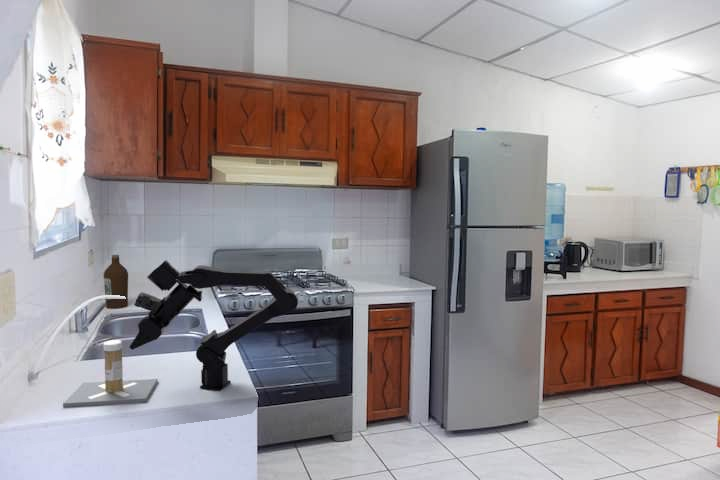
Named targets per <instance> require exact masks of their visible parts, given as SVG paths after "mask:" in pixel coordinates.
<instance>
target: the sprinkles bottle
mask: <svg viewBox="0 0 720 480" xmlns="http://www.w3.org/2000/svg"><path fill="white" fill-rule="evenodd" d="M122 350H123V342H122V340H119V339H113V340H108V341H105V342H103V351H104V380H105V381H104V382H105V391H106V392H117V391H120V390H122V389H123V381H124V380H123V377H124V376H123V374H124V373H123V371H124V370H123V355H122V354H123V353H122V352H123V351H122Z"/></svg>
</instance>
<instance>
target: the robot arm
mask: <svg viewBox="0 0 720 480" xmlns="http://www.w3.org/2000/svg"><path fill="white" fill-rule="evenodd" d="M146 278H147V279H148V281H150V282H151V283H152V284H153V285H155V286H156V287H157V288H158V289H159V290H160V291H162V292H163V291H167V292H169V291H170V290H171V289H172V288H173V287H174V286H175V285H176V284H177V285H176V286H175V287H174V288H173V289H172V290H171V291H170V292H169V293H168V294H167V296H164V297H163V298H162V299H160V298H158V297H156V296H154V295H151V294H148V293H146V292H140V293H138V295H137V297H136V298H135V302H134V304H133V306H135V307H136V308H141V309H144V310H147V311H149V312H148V315H146V316H145V317H143V318H142V319H141V320H140V322H138V324H137V327H138V333H137V334H136V336H135V337H134V338H133V340H132V342H131V344H130V345H129V349H131V350H132V351H133V350H136V349H137V348H139V347H142V346H144V345H146V344H149V343H150V342H153V341H156V340H158V339H159V338H160V337H161V336H162V334H164V332H165V328H167V327H168V326H169V325H170V324H171V323H172V321H173V320H175V319H176V317H178V316H179V315H180V314H181V312H182V311H183V310H184V309H185V308H186V307H187V306H188V305H189V304H190V303H191V302H192V301H193V299H196V300H197V301H198V302H199V303H200V302H202V300H203V290H202V289H207V288H214V287H218V286H246V287H247V286H250V287H251V286H252V287H253V286H254V287H265V288H266V289H267V291H268V292H269V293H270V294H271V296H273V297H272V298H271V299H270V300H269V301H268V302H267V303H266V304H265V305H263V307H261V308H259V309H257V310H256V311H254V312H253V313H251V314H249V315H248V316H247V317H244V319H241V320H240V321H238V322H237V323H236V324H234V325H232V326H230V327H229V328H227V329H226V330H223V331H222V332H221V331H220V332H217V330H216V329H214V330H212V331H211V332H210V333H208V334H206V335H203V336H202V339H201V340H200V341H199V343H198V346H197V349H196V352H195V356H196V359H197V361H199V363H202V369H201V372H200V373H201V375H200V377H201V384H200V386H199V389H202V390H203V389H204V390H212V391H221V390H223V389H224V388H225V387H227V386H228V385H229V384H230V383H231V380H230V379H229V375H228V374H229V368H228V367H229V365H228V363H226V358H227V352H226V351H227V349H228V348H229V347H230V346H231V345H232V344H234V343H235V342H237V341H239V340H240V339H242V338H243V337H245V336H246V335H248V334H250V333H252V331H254V330H256V329H257V328H259V327H261V326H262V325H264V324H265V323H267V322H269V321H270V320H271V319H274V318H278V317H282V316H285V315H287V314H289V313H292V312H293V311H294V310H296V308H298V304H299V299H298V297H297V294H296V292H295V291H294V290H292V289H291V288H287V287H286V286H285V285H284V284H283V283H282V282H281V281H280V280H279V279H278V278H276V276H275V275H274V274H273V272H271V271H269V270H266V271H249V270H246V271H245V270H244V271H243V270H224V269H221V268H220V269H219V268H216V267H213V266H208V265H205V264H204V265H203V264H202V265H201V264H200V265H197V266H195V267H194V268H193V269H191V270H186V271H185V270H184V271H181V272H180V271H178V270H177V269H176V268H175V267H174V266H173V265H172V264H171V262H169V261H168V260H163V262H162V263H161V264H160V265H159V266H158V267H156V268H154V269H153V271H151V272H150V273H149V274H148V276H147V277H146ZM198 289H199V290H198ZM200 289H201V290H200Z"/></svg>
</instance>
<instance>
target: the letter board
mask: <svg viewBox="0 0 720 480" xmlns="http://www.w3.org/2000/svg"><path fill="white" fill-rule="evenodd" d="M158 380H159V379H158V378H151V379H147V378H146V379H133V380H131V379H130V380H128V379H127V380H122V381H123V389H122V390H120V391H117V392H106V391H105V381H96V382H95V381H93V382H82V383H81V384H80V386H78V388H77V389H75V391H73V392H72V394H70V396H69V397H67V399H65V401H63V403H62V407H63V408H71V407H72V408H74V407H87V406H88V407H89V406H104V405H105V406H106V405H107V406H108V405H120V404H122V405H123V404H136V403H147V401H148V400H149V398H150V396H151V394H152V393H153V391H154V389H155V387H156V386H157V384H158V382H159V381H158Z"/></svg>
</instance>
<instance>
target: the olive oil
mask: <svg viewBox="0 0 720 480" xmlns="http://www.w3.org/2000/svg"><path fill="white" fill-rule="evenodd" d="M103 286H104V295H120V296H125V297H126V299H106V298H105V307H106V308H107V309H113V310H114V309H116V310H117V309H122V308H127V307H128V305H129V299H128V298H129V297H128V296H129V292H128V291H129V271H128V270H127V269H126V267H125V266H124V265H122V264H121V262H120V255H119V254H112V255H111V263H110V265H109V266H107V268H106V269H105V270H104V273H103Z"/></svg>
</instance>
